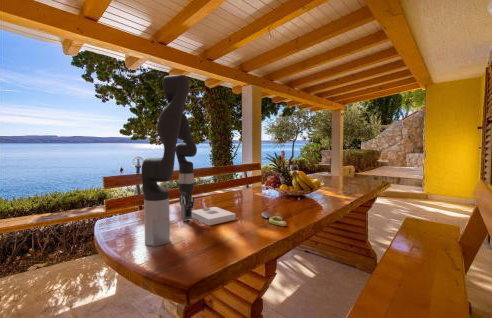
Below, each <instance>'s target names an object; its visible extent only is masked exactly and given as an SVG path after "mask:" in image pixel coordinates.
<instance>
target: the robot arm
mask: <svg viewBox="0 0 492 318" xmlns="http://www.w3.org/2000/svg"><path fill="white" fill-rule="evenodd" d="M162 88H163V92H164V95H165V98H166V101H167V105H166V106H165V107H164V109H163V110H162V111H161V113H160V114H159V115H158V120H157V125H156V132H157V135H158V137H159V139H160V140H161V143H162V145H163V155H162V157H147V158H145V159H144V160H143V162H142V163H141V181H142V182H141V183H142V193H143V200H144V205H143V207H144V209H143V210H144V244H145V245H146V246H150V247H152V248H153V247H154V248H155V247H159V246H162V245H167V244H169V243H170V242H171V241H170V240H171V239H170V237H171V235H170V233H171V232H170V229H171V228H170V191H169V190H168V189H166V188H163V187H161V186H160V185H159V184H158V182H169V181H170V180H171V179H172V177H173V174H174V170H175V169H174V168H175V162H176V160H175V159H177V163H178V170H179V171H178V192H180V193H179V194H178V200H179V206H180V207H181V203H185V205H186V216H187V217H189V216H191V208H192V209H193V208H194V204H195V197H193V196H192V192H194V191H195V175H194V163H193V162H192V161H189V160H187V159H186V158H193V157H195V156H196V155H197V151H198V149H197V148H198V147H197V145H196V143H195V140H194V138H193V136H192V133H191V127H190V121H189V119H188V118H187V116H186V114H185V113H184V109H185V104H186V101H187V99H188V95H189V91H190V80H189V78H188V76H186V75H185V74H172V75H166V76H164V77H163V79H162ZM178 140H180V141H184V142H180V143H178ZM186 202H188V203H186Z"/></svg>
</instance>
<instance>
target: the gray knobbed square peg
mask: <svg viewBox="0 0 492 318" xmlns="http://www.w3.org/2000/svg"><path fill="white" fill-rule="evenodd" d="M186 203H188V202H186ZM192 211H193V208H191V216H189V217H187V216H186V205H185V203H181V206H180V218H181V220H183V221H189V220H192V219H193V217H192Z"/></svg>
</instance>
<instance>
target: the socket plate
mask: <svg viewBox="0 0 492 318" xmlns="http://www.w3.org/2000/svg"><path fill="white" fill-rule="evenodd" d="M192 219H195V220H197V221H199V222H201V223H203V224H205V225H206V226H213V225H217V224H221V223H226V222H230V221H235V220H236V213H234V212H231V211H228V210H226V209H223V208H220V207H217V206H213V207H207V208H200V209H192Z"/></svg>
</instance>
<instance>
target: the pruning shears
mask: <svg viewBox="0 0 492 318" xmlns="http://www.w3.org/2000/svg"><path fill="white" fill-rule="evenodd" d="M261 216H262V217H264V218H266V219H268V221H269V223H270V224H272V225H274V226H275V225H276V226H279V227H280V226H281V227H286V226H287V222H286V221H285V220H283V217H281V216H278V215H274V214H268V213H266V211H263V212H262V213H261Z"/></svg>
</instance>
